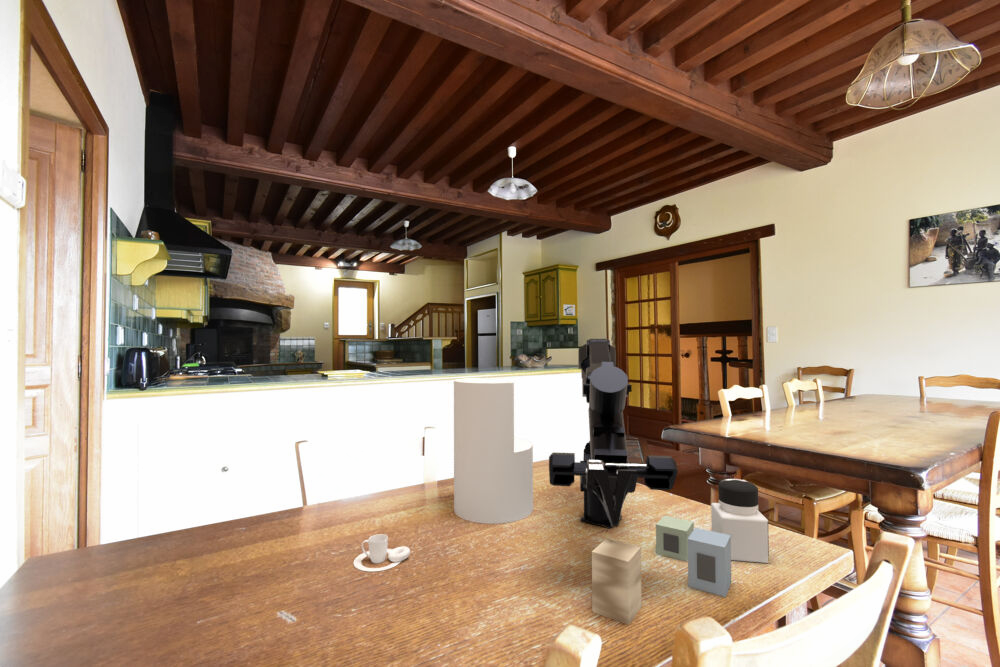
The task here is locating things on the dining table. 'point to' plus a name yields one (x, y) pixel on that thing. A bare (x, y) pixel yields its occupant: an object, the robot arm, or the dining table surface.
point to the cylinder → (489, 454)
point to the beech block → (616, 580)
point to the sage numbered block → (673, 537)
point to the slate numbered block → (709, 561)
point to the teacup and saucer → (380, 553)
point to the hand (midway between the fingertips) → (615, 525)
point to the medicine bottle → (741, 521)
